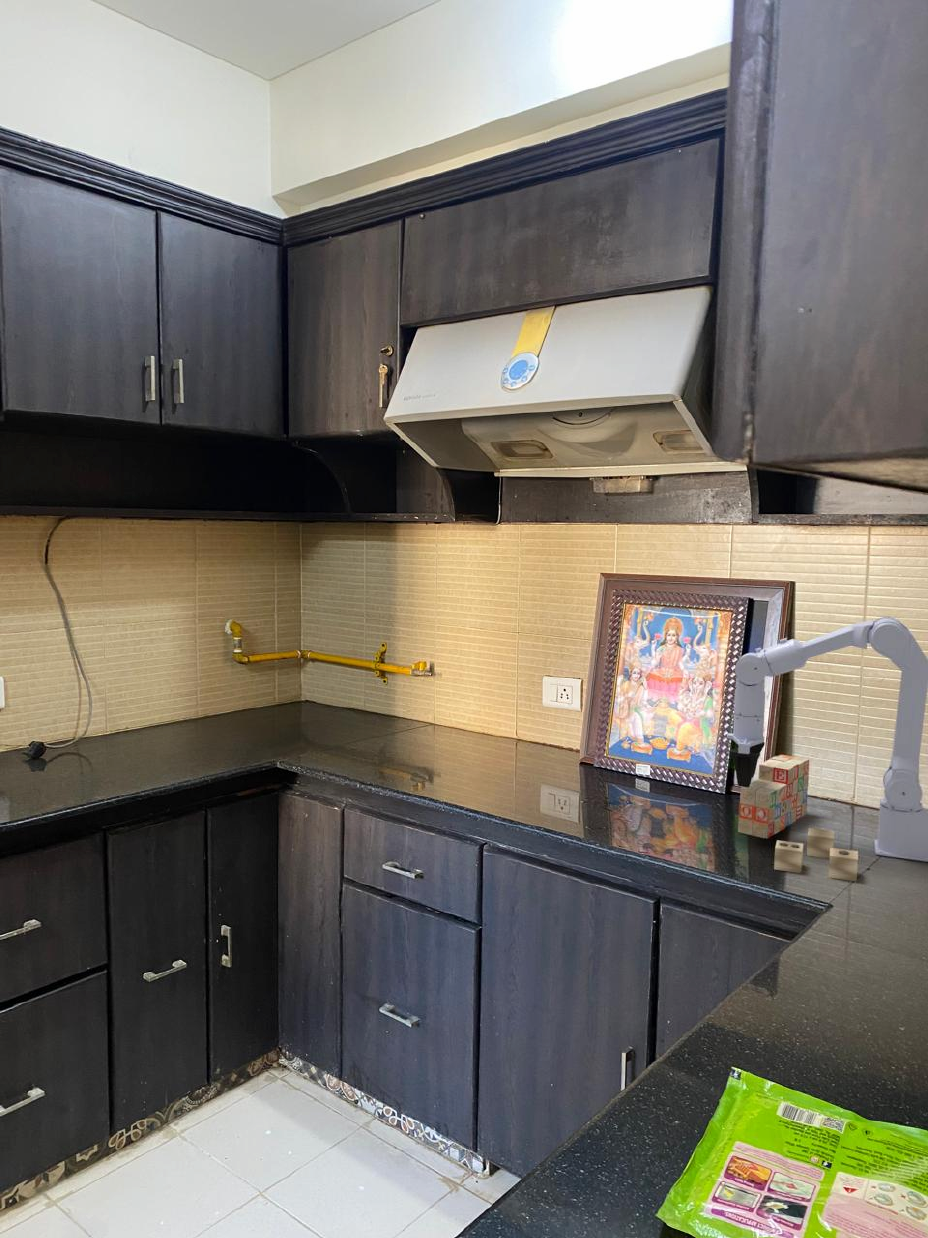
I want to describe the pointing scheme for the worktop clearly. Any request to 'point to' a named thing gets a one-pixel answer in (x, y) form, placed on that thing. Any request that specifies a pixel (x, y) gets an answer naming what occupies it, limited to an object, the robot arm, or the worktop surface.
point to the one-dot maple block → (843, 864)
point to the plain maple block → (820, 842)
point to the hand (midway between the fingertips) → (745, 781)
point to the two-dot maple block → (788, 856)
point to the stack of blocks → (774, 796)
